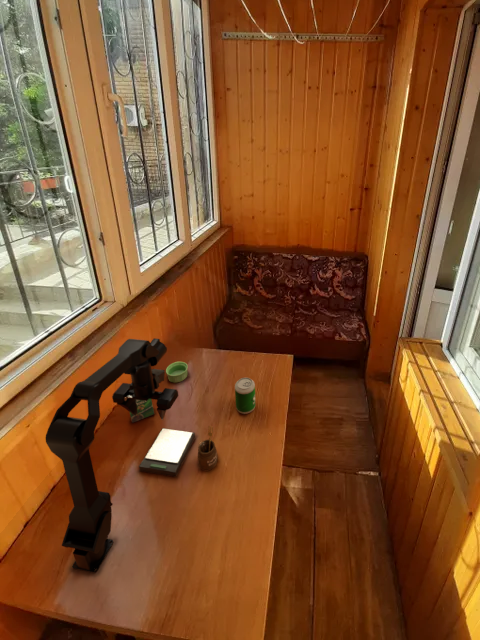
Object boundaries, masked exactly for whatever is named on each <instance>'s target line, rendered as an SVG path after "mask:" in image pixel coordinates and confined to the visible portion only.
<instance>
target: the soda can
mask: <svg viewBox="0 0 480 640" xmlns="http://www.w3.org/2000/svg"><path fill="white" fill-rule="evenodd" d="M234 398H235V409H236V410H237V412H238V413H240V414H243V415H246V414H250V413H252V412H253V411H254V410H255V408H256V404H257V403H256V382H255V381H254V380H253V379H252V378H250V377H241V378H240V379H238V380H237V381H236V382H235V384H234Z"/></svg>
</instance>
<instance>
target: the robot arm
mask: <svg viewBox="0 0 480 640" xmlns="http://www.w3.org/2000/svg"><path fill="white" fill-rule="evenodd" d="M167 352H168V347H167V346H166V345H165V344H164V342H162V341H161V339H160V338H153V339H151V341H150V340H147V339H136V338H128V339H127V340H125V341H124V342H123V343H122V344H121V345H120V346H119V347H118V352H117V354H116V355H115V356H113V357H112V358H111V359H110V360H108V361H107V362H106V363H105V364H103V365H102V366H101V367H100V368H98V369H97V370H96V371H95V372H93V373H92V374H90V375H89V376H88V377H87V378H85V379H83V380H81V381H79V382H77V383H76V384H75V386H74V387H73V390H72V391H71V393H70V396H69V397H68V398H67V399H66V400H65V401H64V402H63V403H62V404H61V405H60V406H59V407H58V408H56V411H55V413H54V415H53V417H52V419H51V422H50V424H49V426H48V428H47V431H46V434H45V443H46V445H47V447H48V448H49V450H50V452H51V453H53V454H54V455H55V456H56V457H58V458H59V460H61V461H62V465H63V468H64V473H65V476H66V480H67V484H68V488H69V492H70V495H71V496H70V497H71V499H72V504H73V506H72V509H71V511H70V513H69V514H68V524H67V527H66V530H65V533H64V537H63V540H62V543H61V547H64V548H70V549H74V550H73V551H72V556H73V558H74V562H73V563H72V569H73V570H77V571H81V572H86V573H91V574H96V573H98V571H99V570H100V568H101V566H102V565H103V563H104V561H105V559H106V557H107V555H108V553H109V552H110V550H111V548H112V546H113V544H114V539H111V538H108V537H109V536H110V533H111V530H112V518H113V517H112V515H113V513H112V506H113V504H114V503H113V502H112V500H111V499H112V497H111V494H110V492H107V491H102V490H99V488H98V485H97V480H96V475H95V470H94V466H93V461H92V457H91V453H90V447H91V445H92V443H93V442H94V441H95V430H96V428H97V425H98V423H99V420H100V418H101V409H100V408H101V407H100V400H101V397H102V395H103V393H104V392H105V391H106V390H107V389H108V388H109V387H110V386H112V385H113V384H114V383H115V382H116V381H117V380H118V379H119V378H120V377H121V376H122V375H129V376H130V379H131V382H130V383H129V382H128V383H127V382H122V383H121V384H120V385H119V386H118V387H117V389H116V390H115V391H114V392H113V393H112V395H111V398H112V402H113V403H114V404H117V406H121V407H122V408H123V409H125V410H126V411H128V413H129V412H130V413H132V414H133V415H134V416H136V415H137V405H136V400H144V401H147V400H148V399H151V400H156V411H157V413H158V416H159V418H160V419H161V420H164V418H165V416H166V412H167V411H168V410H170V409H171V408H172V407H173V405H174V404H175V401H176V400H177V399H178V397H179V391H178V389H175V388H169V387H165V388H163V391H157V390H158V389H159V388H160V384H161V383H162V382H164V381H165V374H166V369H160V368H159V369H158V368H152V367H155V366H157V365H158V364H159V363H160V361H161V360H162V359H163V357H164V356H165V355H166V353H167ZM133 389H134V390H133ZM81 401H87V418H80V417H74V416H73V417H72V416H69V414H70V413H71V412H72V410H74V408H75V407H77V406H78V404H79V403H80V402H81ZM130 413H129V414H130Z"/></svg>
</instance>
